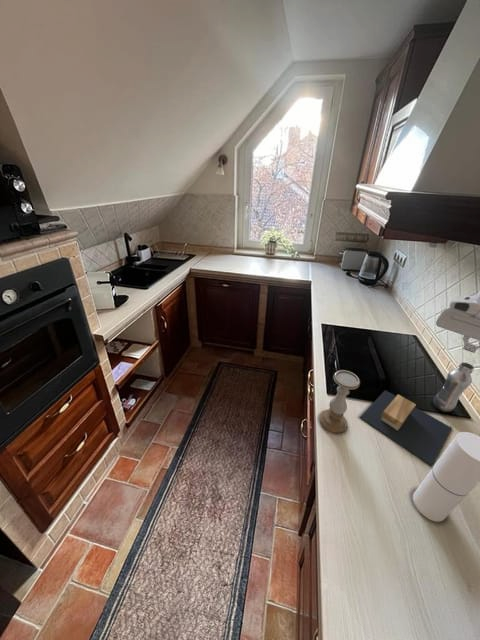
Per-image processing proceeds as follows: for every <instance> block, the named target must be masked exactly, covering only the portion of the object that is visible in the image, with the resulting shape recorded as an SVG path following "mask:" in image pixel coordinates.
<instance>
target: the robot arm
mask: <svg viewBox="0 0 480 640" xmlns="http://www.w3.org/2000/svg"><path fill="white" fill-rule="evenodd" d="M435 323H436V324H435V325H436V326H437V327H439V328H442V329H444V330H446V331H447V330H448V331H451V332H453V333H456V334H459V335H461V336H463V337H462V341H463V344H464V345H463V346H462V350H463V351H464V350H465V351H468V352H470V353H473V354H475V353H476V352H477V350H479V349H480V290H479V291H477V293H476V294H475V295H457V296H455V297H453V298H452V300H451V301H450V302H449V304H448V305H447V306H446V307H445V308H444V309H443V310H442V311H441V313H440V314H439V316H438V317H437V319H436V321H435ZM470 339H473V340H476V341H479V342H478V344H476V345H475V344H472V343H470V341H469V340H470Z"/></svg>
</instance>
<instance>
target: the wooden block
mask: <svg viewBox="0 0 480 640" xmlns="http://www.w3.org/2000/svg"><path fill="white" fill-rule="evenodd" d="M395 396H396V397H395V398H394V400H393V401H392V402H391V403H390V404H389V405H388V407H387V408H386V409H385V410H384V411H383V414H382V418H381V420H382V421H384V422H385V423H387V424H388V425H390V426H391V427H393V428H394V429H396V430H397V431H398V430H399V428H400V427H401V426H402V424H403V423H404V422H405V420H406V419H407V418H408V416H409V415H410V413H411V412H412V411H413V409H414V408H415V407H416V406H417V404H416V403H415V402H413V401H411V400H409V399H407V398H406V397H404V396H402V395H400V394H397V395H395Z"/></svg>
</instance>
